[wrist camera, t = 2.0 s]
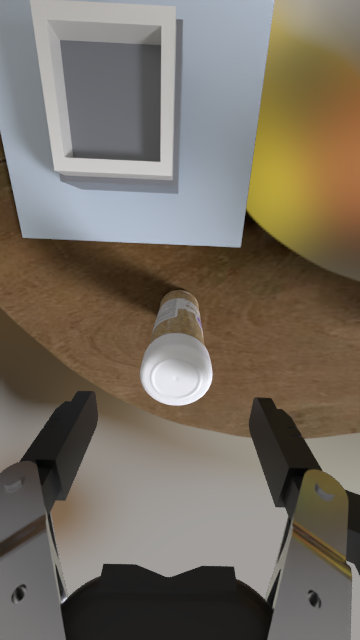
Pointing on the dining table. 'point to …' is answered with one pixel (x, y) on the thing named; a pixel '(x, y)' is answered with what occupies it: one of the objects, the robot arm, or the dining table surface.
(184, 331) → the sprinkles bottle
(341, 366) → the dining table surface
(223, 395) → the dining table surface
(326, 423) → the dining table surface
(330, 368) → the dining table surface
